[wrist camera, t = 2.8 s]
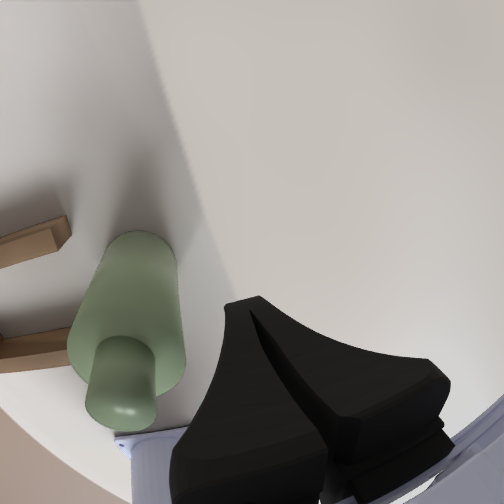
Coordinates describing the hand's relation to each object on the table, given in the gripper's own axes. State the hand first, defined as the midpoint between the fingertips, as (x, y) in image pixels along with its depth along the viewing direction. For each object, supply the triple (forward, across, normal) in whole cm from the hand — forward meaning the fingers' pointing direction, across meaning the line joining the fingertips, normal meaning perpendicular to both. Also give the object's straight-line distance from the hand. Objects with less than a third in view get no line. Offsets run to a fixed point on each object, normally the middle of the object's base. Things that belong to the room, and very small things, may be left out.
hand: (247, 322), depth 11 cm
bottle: (+7, +5, 0) cm, 9 cm away
